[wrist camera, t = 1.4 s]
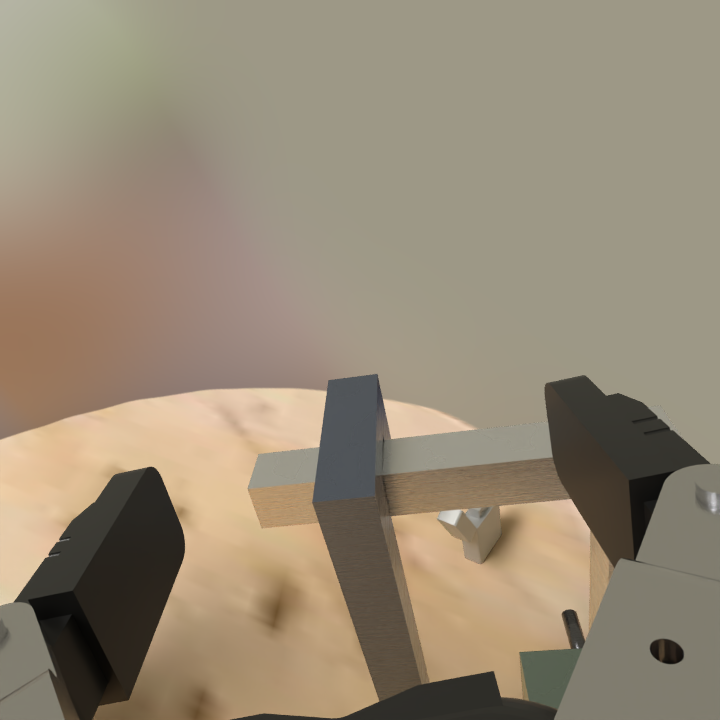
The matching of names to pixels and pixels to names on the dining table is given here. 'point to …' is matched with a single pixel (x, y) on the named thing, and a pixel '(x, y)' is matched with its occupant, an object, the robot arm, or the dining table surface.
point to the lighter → (474, 530)
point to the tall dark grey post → (366, 533)
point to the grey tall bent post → (453, 506)
